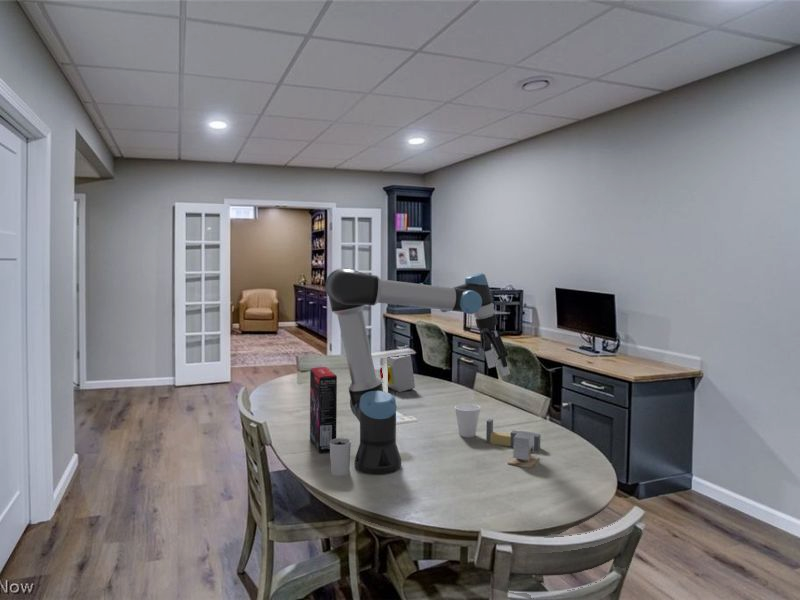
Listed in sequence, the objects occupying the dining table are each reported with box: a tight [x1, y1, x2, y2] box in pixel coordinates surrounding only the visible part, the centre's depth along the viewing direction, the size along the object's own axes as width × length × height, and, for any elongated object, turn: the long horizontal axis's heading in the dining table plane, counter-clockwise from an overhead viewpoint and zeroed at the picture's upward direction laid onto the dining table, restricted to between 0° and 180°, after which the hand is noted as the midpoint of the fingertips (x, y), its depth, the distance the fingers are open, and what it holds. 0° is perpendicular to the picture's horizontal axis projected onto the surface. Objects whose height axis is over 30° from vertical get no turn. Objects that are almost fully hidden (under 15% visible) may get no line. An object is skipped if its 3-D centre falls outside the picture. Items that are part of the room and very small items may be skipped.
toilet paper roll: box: [329, 437, 352, 477], centre depth 175 cm, size 7×7×10 cm
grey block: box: [512, 430, 535, 460], centre depth 184 cm, size 5×7×7 cm
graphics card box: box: [309, 366, 338, 454], centre depth 199 cm, size 17×7×27 cm, turn 21°
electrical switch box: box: [379, 354, 416, 393], centre depth 285 cm, size 14×15×20 cm
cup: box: [454, 403, 482, 439], centre depth 211 cm, size 10×10×11 cm
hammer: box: [485, 418, 541, 452], centre depth 200 cm, size 19×3×8 cm, turn 63°
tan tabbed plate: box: [507, 449, 540, 469], centre depth 185 cm, size 8×10×5 cm
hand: (499, 371), depth 204 cm, fingers open, 13 cm apart
